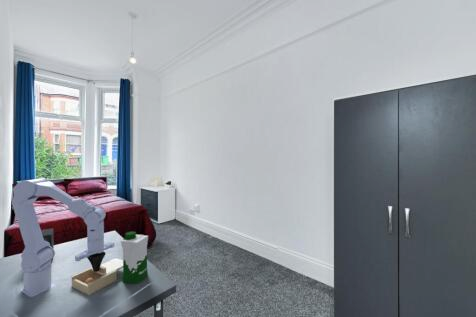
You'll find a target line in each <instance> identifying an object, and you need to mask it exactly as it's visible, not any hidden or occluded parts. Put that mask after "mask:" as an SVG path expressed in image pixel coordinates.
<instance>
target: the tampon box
mask: <svg viewBox="0 0 476 317" xmlns="http://www.w3.org/2000/svg"><path fill="white" fill-rule="evenodd" d="M54 230H55V229H54V228H46V229H41V232H42V236H43V239H44V241H47V242H49V243H50V246H51V247H52V248H53V249H54V248H55V247H54V244H55V242H54V240H55V239H54V236H55V235H54ZM54 250H55V249H54ZM53 261H54V257H53V258H52V259H51V264H53Z"/></svg>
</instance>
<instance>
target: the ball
mask: <svg viewBox="0 0 476 317" xmlns="http://www.w3.org/2000/svg"><path fill="white" fill-rule="evenodd" d="M93 281H94V279H93V278H88V279H87V280H86V281H85V284H89V283H91V282H93Z"/></svg>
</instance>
